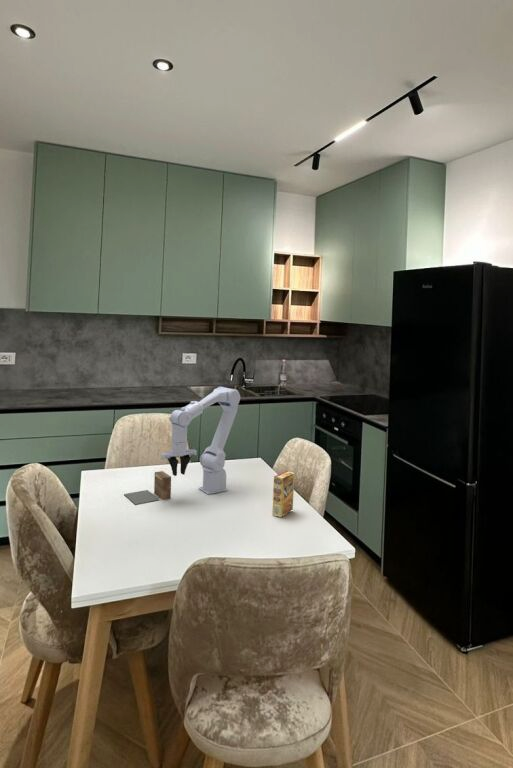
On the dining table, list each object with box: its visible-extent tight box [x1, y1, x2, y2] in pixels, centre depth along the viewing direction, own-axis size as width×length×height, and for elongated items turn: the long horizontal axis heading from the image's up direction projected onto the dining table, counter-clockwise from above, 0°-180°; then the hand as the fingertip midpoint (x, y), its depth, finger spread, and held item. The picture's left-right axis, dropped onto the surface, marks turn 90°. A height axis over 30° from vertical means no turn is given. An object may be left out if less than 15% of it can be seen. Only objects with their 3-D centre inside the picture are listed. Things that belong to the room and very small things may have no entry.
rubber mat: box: [123, 489, 161, 506], centre depth 190 cm, size 10×12×1 cm
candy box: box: [271, 470, 295, 518], centre depth 180 cm, size 9×4×15 cm, turn 146°
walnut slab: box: [153, 470, 172, 501], centre depth 193 cm, size 4×8×9 cm, turn 36°
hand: (178, 474), depth 188 cm, fingers open, 3 cm apart
